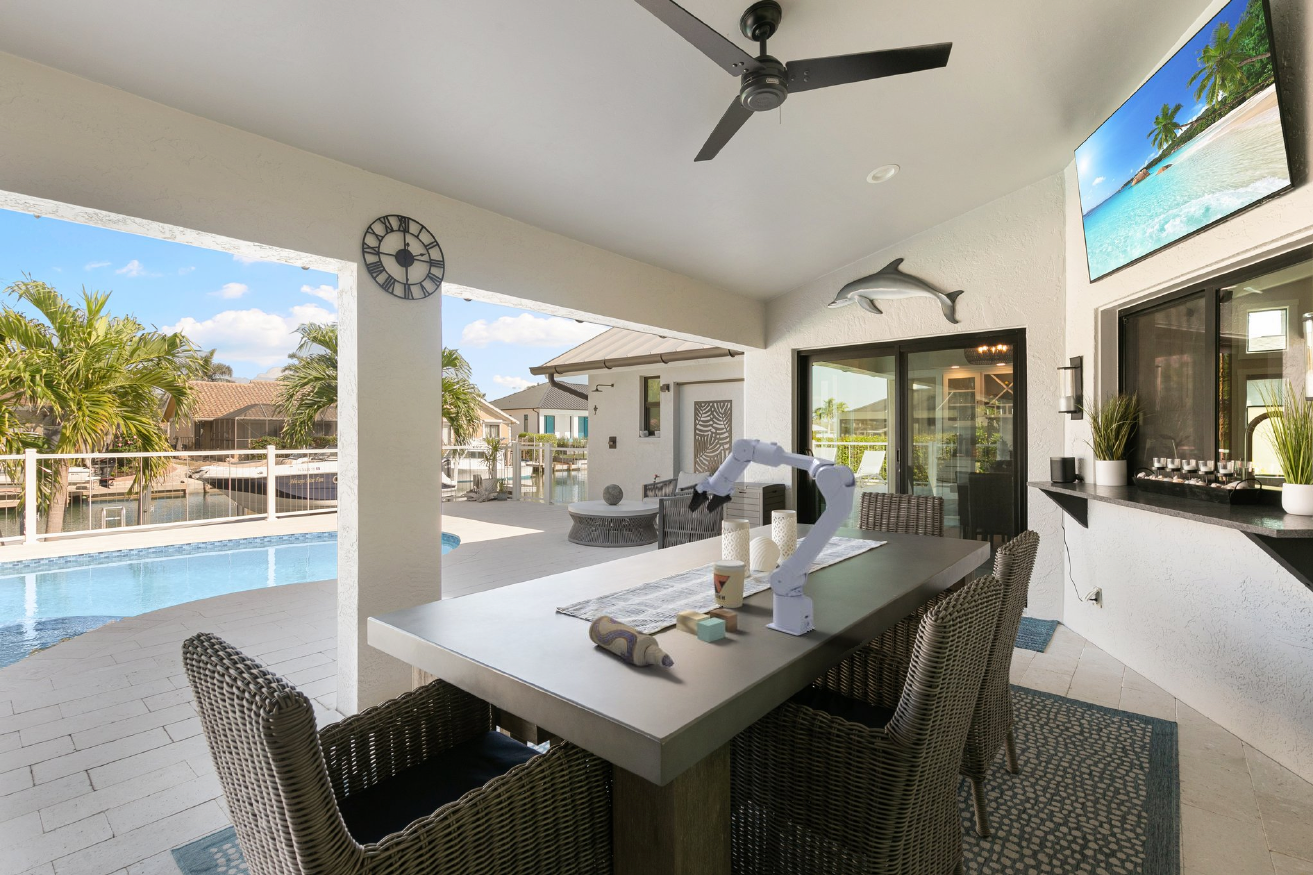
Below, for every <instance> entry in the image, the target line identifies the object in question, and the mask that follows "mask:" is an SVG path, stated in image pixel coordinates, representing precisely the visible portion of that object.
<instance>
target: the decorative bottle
mask: <svg viewBox="0 0 1313 875" xmlns="http://www.w3.org/2000/svg"><path fill="white" fill-rule="evenodd" d="M588 635H589V639H590V641H592V643H594V644H595V645H598V646H601V647H602V648H603V649H606V650H608V651H610V652H612V653H613V654H615V655H617V656H620V657H621V658H622V660H623V661H626V662H627V663H629V664H632V665H633V666H636V667H640V668H641V667H647V666H654V665H655V666H658V667H661V668H665V667H667V668H670V667H673V666H674V664H675V662H674V661H673V659H672V658H671V656H670V655H669V654H668V653H667V652H665V651H664V650H662V648H661V647H659V643H658V641H657V638H655V637H653V636H652V635H650V634H648V633H646V632H643V631H641V630H639V629H637V628H634V627H632V626H630V625H628V624H625V623H623V622H621V621H619V620H616V619H614V618H612V617H611V616H609V615H601V616H598V617H596V618H595V619H593V620H592V622H591V623H590V626H589V629H588Z"/></svg>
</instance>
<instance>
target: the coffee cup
mask: <svg viewBox="0 0 1313 875" xmlns="http://www.w3.org/2000/svg"><path fill="white" fill-rule="evenodd" d="M712 567H713V586H714V587H713V588H714V597H715V598H714V601H715V605H716V604H718V605H720V606H723V607H722V608H725V609H735V608H736V609H737V608H740V607H742V606H743V600H744V589H745V576H746V573H745V572H746V567H747V566H746V565H745V562H744V561H742V560H737V559H736V560H735V559H719V560H715V561H714V562H713V564H712ZM720 606H719V607H720Z"/></svg>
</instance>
